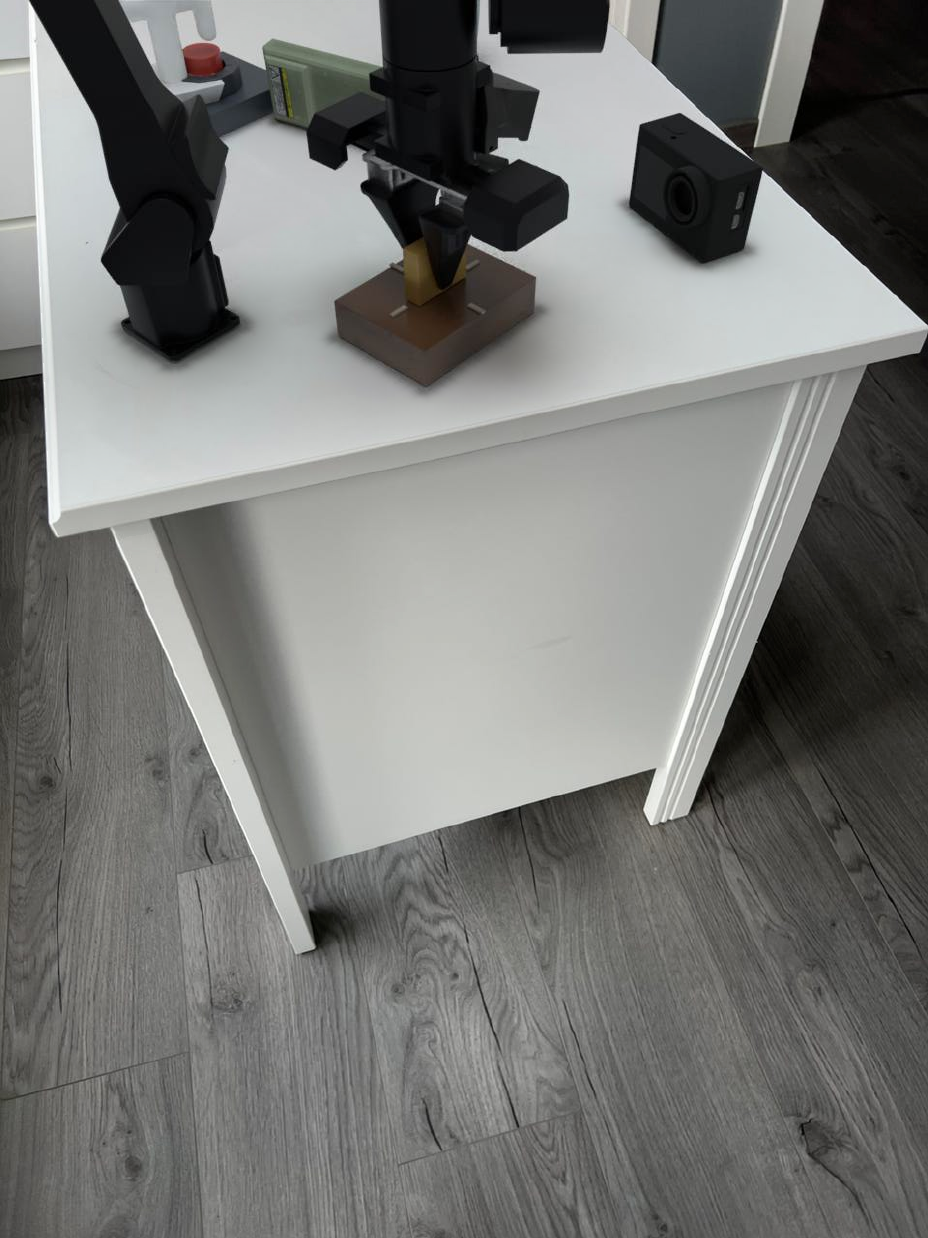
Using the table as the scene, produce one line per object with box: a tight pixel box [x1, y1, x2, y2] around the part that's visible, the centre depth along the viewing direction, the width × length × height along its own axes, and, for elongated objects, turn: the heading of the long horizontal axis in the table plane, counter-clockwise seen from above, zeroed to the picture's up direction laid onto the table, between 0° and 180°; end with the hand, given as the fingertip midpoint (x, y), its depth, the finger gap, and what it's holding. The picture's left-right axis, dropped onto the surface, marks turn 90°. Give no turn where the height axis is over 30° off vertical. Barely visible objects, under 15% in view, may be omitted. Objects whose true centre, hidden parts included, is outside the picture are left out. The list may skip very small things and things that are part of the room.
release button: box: [182, 42, 223, 76], centre depth 93 cm, size 4×4×2 cm
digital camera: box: [628, 112, 764, 264], centre depth 80 cm, size 10×5×7 cm, turn 29°
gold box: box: [402, 237, 466, 306], centre depth 71 cm, size 5×1×4 cm, turn 138°
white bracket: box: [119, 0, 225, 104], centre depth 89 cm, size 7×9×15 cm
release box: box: [181, 50, 274, 138], centre depth 95 cm, size 12×10×4 cm
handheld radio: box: [261, 37, 510, 168], centre depth 89 cm, size 7×3×25 cm
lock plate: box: [333, 243, 537, 387], centre depth 74 cm, size 12×9×3 cm
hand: (436, 282), depth 72 cm, fingers closed on gold box
